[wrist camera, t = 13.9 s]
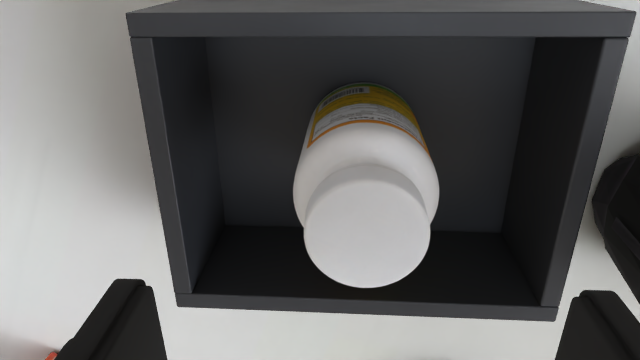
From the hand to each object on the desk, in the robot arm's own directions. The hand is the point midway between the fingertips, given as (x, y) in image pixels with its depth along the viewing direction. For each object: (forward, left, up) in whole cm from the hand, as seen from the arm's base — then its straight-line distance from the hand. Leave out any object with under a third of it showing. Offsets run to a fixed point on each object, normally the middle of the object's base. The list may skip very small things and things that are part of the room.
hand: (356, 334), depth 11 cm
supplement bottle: (0, 0, -14) cm, 14 cm away
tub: (0, 0, -15) cm, 15 cm away
